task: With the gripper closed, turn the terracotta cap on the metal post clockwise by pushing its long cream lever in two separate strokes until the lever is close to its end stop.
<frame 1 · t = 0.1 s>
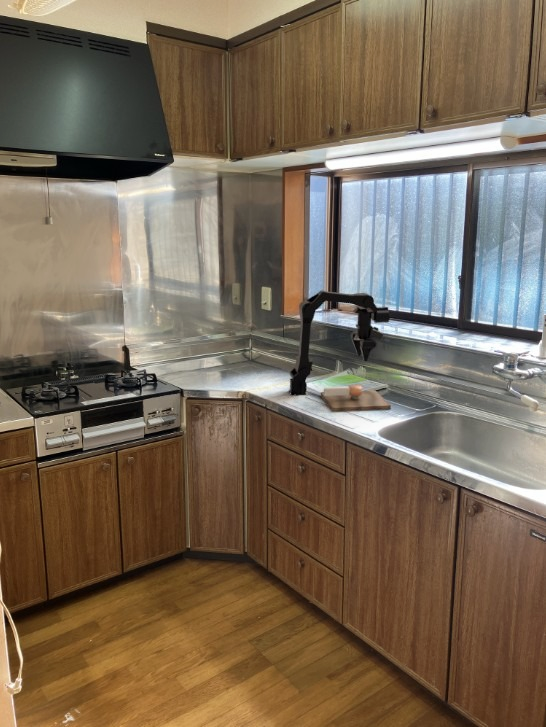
hand: (362, 358, 258), 14 cm above the worktop, tool pointing down, fingers open, 9 cm apart
post board: (354, 402, 247), on the worktop
cap lever: (342, 390, 245), point 5 cm above the worktop, hinge at 0.0°
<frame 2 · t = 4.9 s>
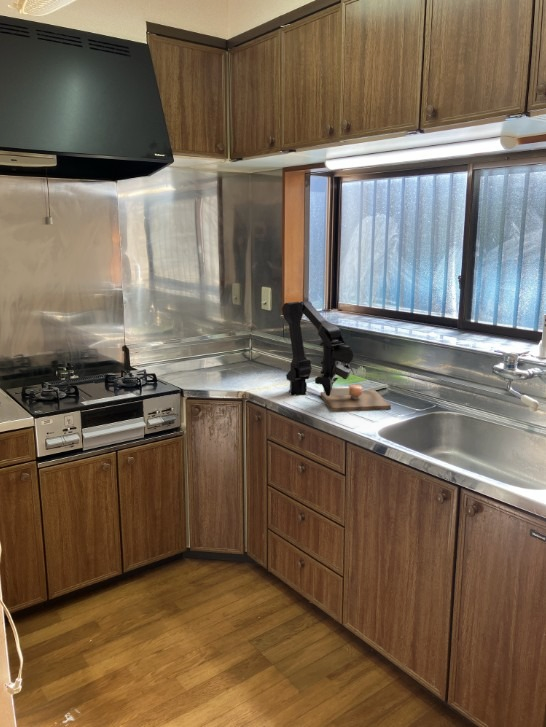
hand: (328, 395, 242), 4 cm above the worktop, tool pointing down, fingers closed
cap lever: (342, 390, 245), point 5 cm above the worktop, hinge at 0.9°, touching gripper
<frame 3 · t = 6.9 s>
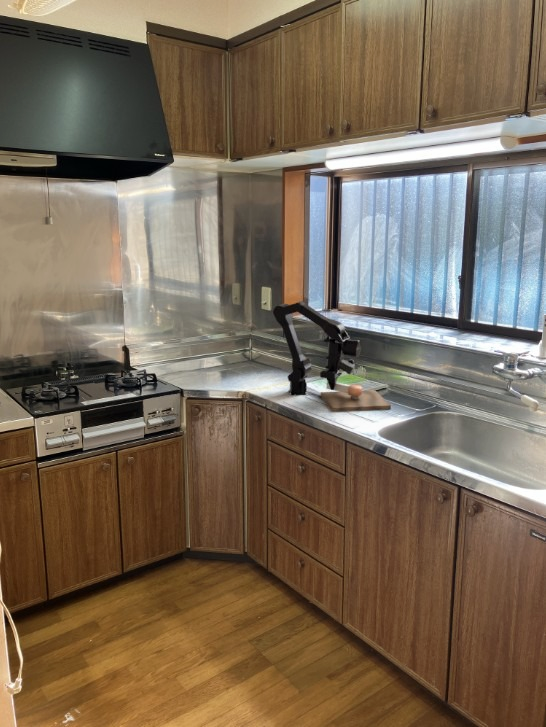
hand: (332, 389, 249), 4 cm above the worktop, tool pointing down, fingers closed
cap lever: (344, 388, 249), point 5 cm above the worktop, hinge at 45.4°, touching gripper
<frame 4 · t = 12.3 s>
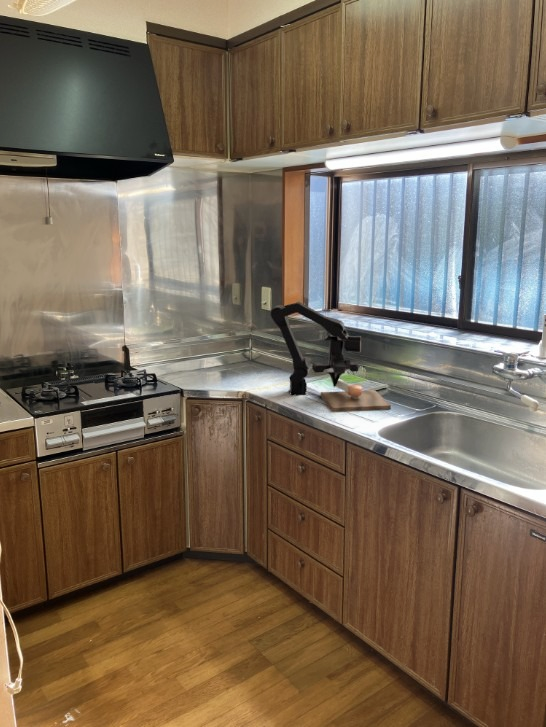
hand: (334, 386, 253), 4 cm above the worktop, tool pointing down, fingers closed
cap lever: (347, 387, 250), point 5 cm above the worktop, hinge at 69.4°, touching gripper
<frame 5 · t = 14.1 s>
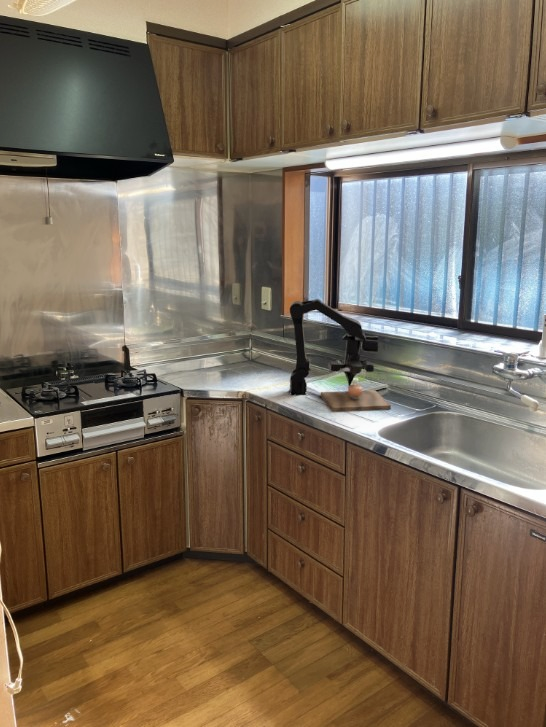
hand: (349, 385, 255), 4 cm above the worktop, tool pointing down, fingers closed
cap lever: (355, 386, 250), point 5 cm above the worktop, hinge at 108.3°, touching gripper
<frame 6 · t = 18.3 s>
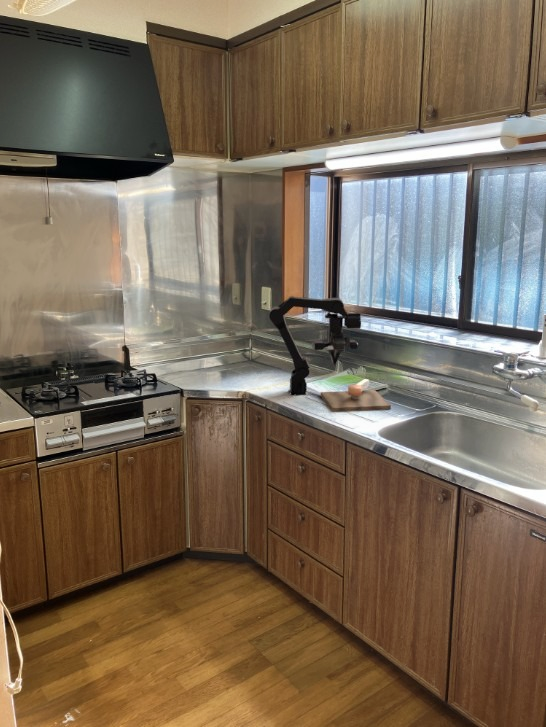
hand: (334, 364, 254), 13 cm above the worktop, tool pointing down, fingers closed
cap lever: (359, 387, 250), point 5 cm above the worktop, hinge at 129.1°
at the end: cap lever at +129° (first picture: +0°) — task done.
